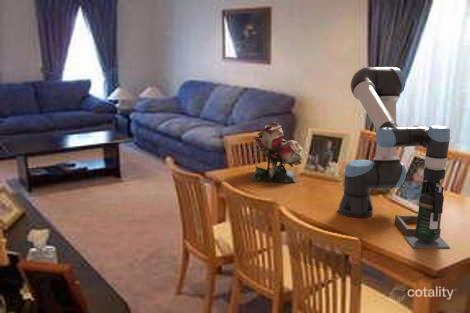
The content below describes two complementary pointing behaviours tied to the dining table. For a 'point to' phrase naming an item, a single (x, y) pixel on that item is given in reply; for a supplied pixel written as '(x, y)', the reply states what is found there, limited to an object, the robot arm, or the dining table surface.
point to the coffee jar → (426, 219)
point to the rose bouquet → (277, 155)
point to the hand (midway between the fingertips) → (428, 223)
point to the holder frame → (404, 219)
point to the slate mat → (426, 243)
